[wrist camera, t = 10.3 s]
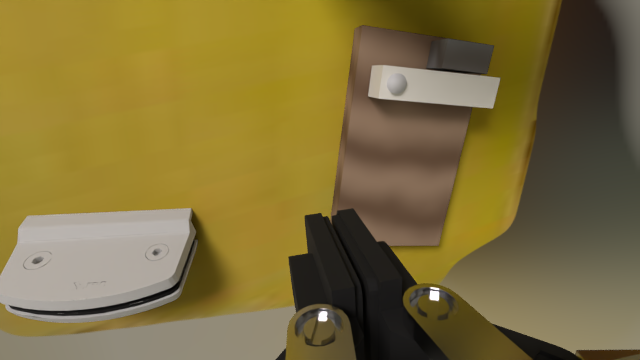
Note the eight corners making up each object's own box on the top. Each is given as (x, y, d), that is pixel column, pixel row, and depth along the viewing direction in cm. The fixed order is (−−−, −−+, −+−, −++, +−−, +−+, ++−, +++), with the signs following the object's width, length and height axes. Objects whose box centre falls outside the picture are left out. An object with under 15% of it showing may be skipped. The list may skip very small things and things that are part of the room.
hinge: (195, 208, 36) (180, 285, 28) (200, 236, 39) (188, 313, 31) (22, 215, 33) (-47, 305, 25) (43, 246, 36) (-14, 335, 28)
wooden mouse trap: (354, 28, 33) (373, 20, 28) (472, 46, 36) (508, 42, 31) (328, 235, 40) (339, 259, 35) (428, 236, 43) (452, 258, 38)
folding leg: (367, 96, 33) (380, 98, 30) (371, 65, 32) (384, 64, 29) (474, 105, 36) (495, 108, 32) (480, 77, 35) (503, 77, 31)
